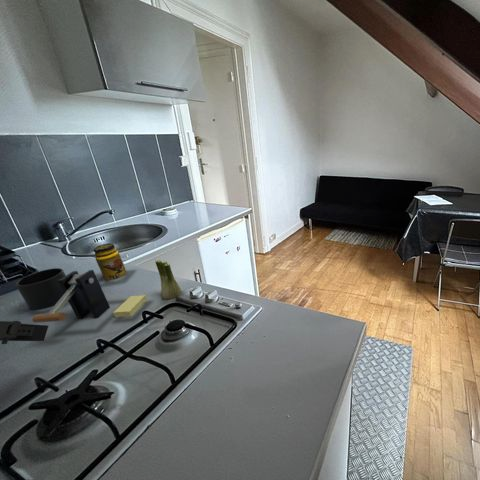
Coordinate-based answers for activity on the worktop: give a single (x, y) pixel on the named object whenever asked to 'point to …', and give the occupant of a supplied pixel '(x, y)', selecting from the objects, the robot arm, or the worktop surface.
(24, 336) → the robot arm
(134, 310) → the butter
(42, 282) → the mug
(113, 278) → the condiment
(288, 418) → the worktop surface
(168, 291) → the fennel bulb
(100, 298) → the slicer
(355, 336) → the worktop surface
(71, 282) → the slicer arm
